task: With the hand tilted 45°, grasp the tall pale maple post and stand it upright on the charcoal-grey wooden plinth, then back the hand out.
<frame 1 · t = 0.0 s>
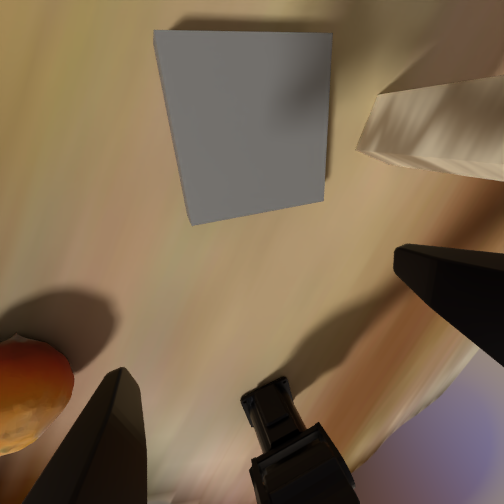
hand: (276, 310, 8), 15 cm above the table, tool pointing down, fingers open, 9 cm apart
plinth: (246, 134, 19), on the table
fruit: (23, 362, 21), on the table
maple post: (383, 132, 24), on the table
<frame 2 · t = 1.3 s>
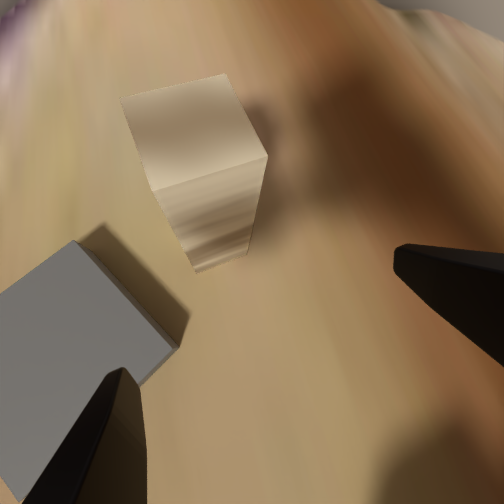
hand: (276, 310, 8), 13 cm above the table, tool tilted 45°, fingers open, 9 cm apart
plinth: (72, 349, 19), on the table
maple post: (212, 240, 23), on the table
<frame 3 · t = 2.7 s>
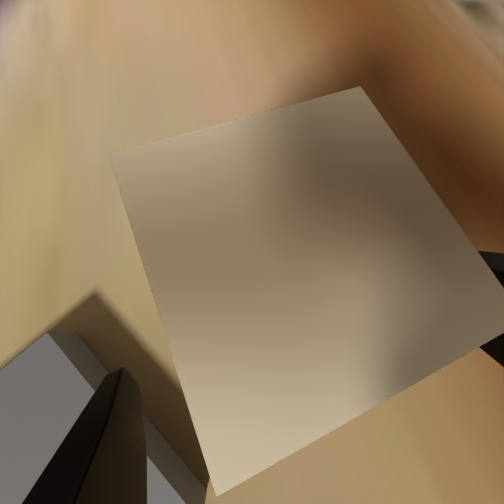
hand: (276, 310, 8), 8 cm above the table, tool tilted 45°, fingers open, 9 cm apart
plinth: (44, 501, 12), on the table
maple post: (248, 313, 16), on the table
when the fingers open (11 cm above the table, at t = 9.8 s): maple post drops 1 cm, resting on plinth.
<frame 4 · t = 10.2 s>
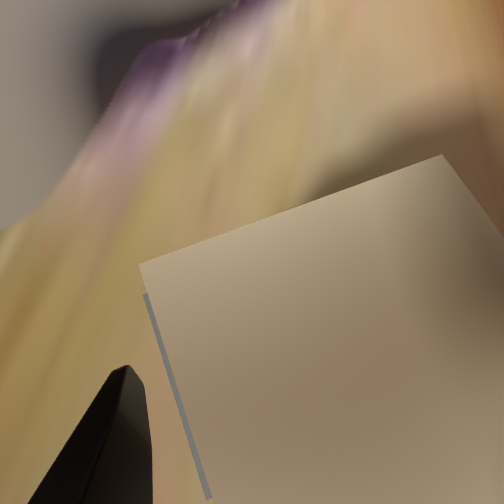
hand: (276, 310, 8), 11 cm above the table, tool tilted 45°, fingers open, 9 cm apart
plinth: (257, 343, 17), on the table
maple post: (262, 343, 15), point 3 cm above the table, touching plinth
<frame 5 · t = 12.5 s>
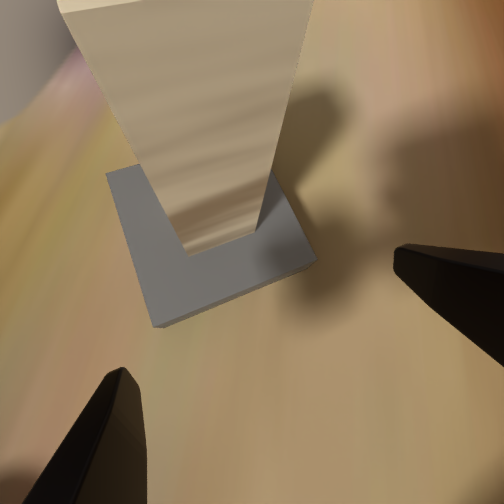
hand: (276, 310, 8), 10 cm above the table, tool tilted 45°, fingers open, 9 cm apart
plinth: (212, 230, 20), on the table
maple post: (210, 214, 17), point 2 cm above the table, touching plinth
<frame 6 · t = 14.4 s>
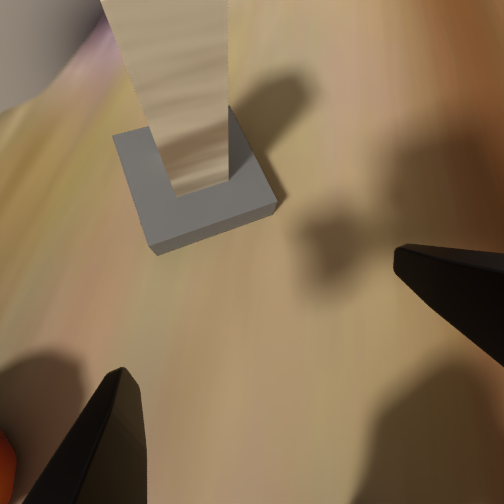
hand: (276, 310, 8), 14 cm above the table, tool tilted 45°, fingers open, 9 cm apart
plinth: (197, 184, 24), on the table
maple post: (193, 166, 22), point 2 cm above the table, touching plinth
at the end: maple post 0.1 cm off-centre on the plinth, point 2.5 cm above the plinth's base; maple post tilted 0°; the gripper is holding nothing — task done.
